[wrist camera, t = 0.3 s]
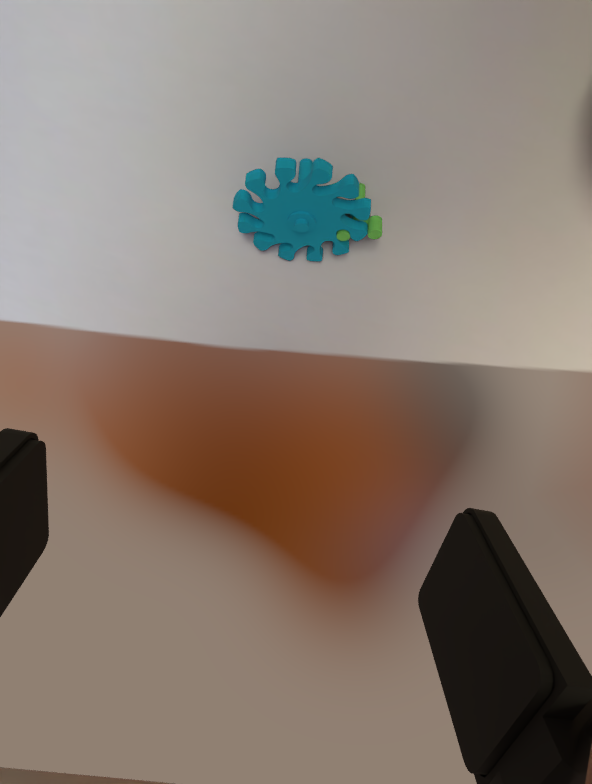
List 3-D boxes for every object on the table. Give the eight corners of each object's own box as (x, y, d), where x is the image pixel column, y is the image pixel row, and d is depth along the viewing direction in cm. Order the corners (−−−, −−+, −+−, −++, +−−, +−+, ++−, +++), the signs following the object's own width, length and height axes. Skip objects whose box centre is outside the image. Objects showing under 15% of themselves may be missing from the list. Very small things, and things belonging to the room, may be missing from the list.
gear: (223, 251, 36) (244, 155, 26) (232, 192, 38) (254, 82, 28) (352, 281, 38) (411, 202, 29) (354, 223, 40) (411, 133, 31)
